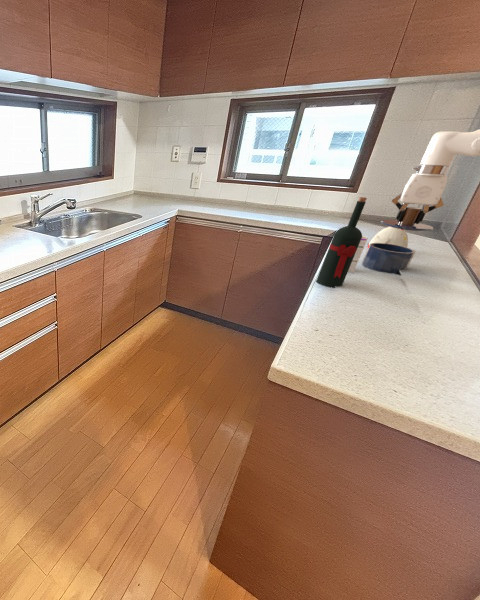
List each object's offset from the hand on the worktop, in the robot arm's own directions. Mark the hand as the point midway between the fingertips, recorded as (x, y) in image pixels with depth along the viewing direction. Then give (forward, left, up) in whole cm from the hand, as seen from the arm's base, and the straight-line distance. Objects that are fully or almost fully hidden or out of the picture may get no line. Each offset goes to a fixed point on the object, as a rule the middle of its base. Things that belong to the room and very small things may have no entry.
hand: (407, 221), depth 122 cm
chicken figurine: (-3, -35, -20) cm, 41 cm away
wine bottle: (+18, +33, -20) cm, 43 cm away
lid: (0, 0, -1) cm, 1 cm away
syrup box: (+15, +13, -20) cm, 27 cm away
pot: (+1, -2, -19) cm, 19 cm away
